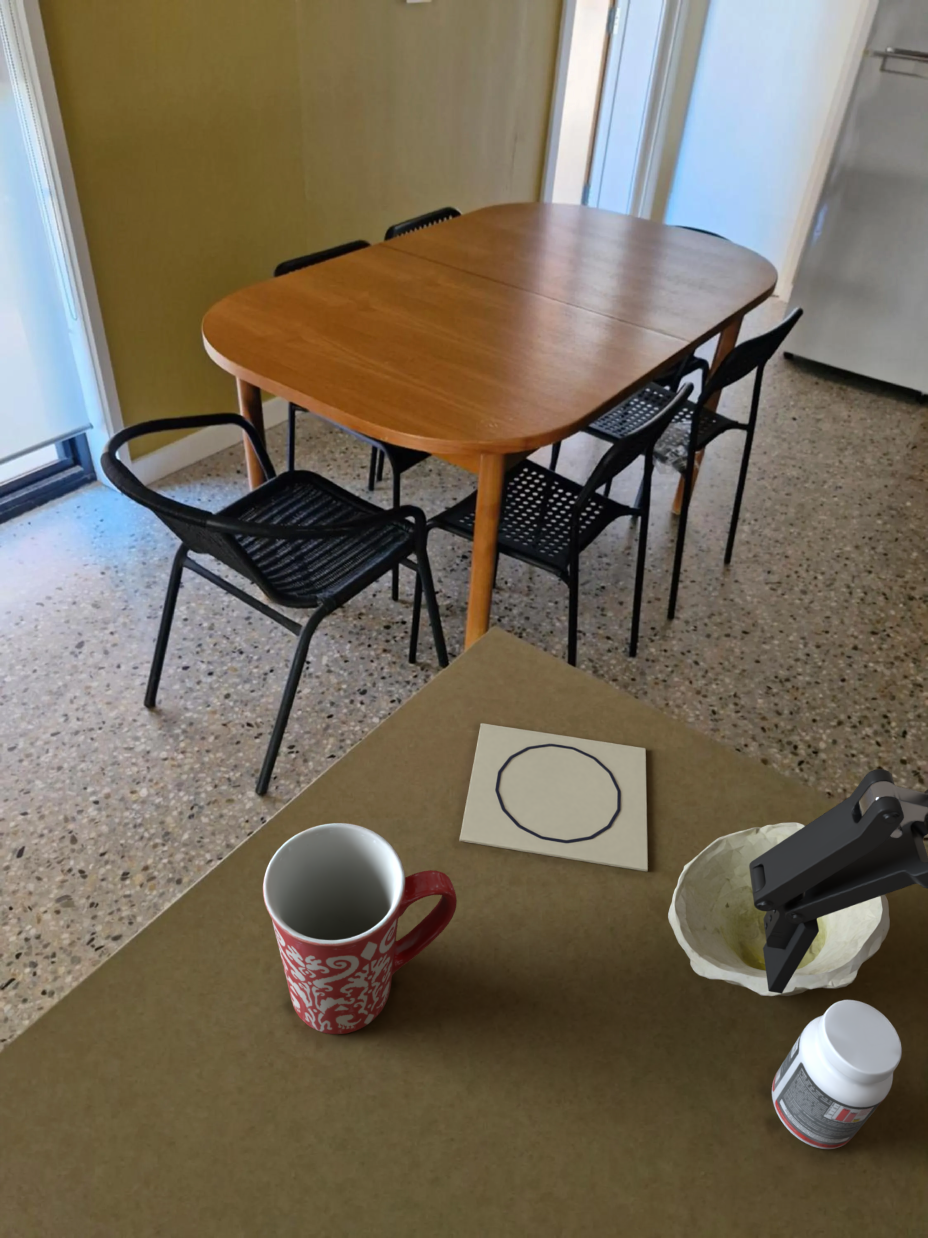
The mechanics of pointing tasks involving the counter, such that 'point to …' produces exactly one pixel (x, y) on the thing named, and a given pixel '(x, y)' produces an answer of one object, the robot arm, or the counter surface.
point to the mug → (346, 921)
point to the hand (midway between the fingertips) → (891, 991)
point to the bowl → (734, 929)
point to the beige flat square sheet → (558, 797)
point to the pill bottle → (836, 1074)
